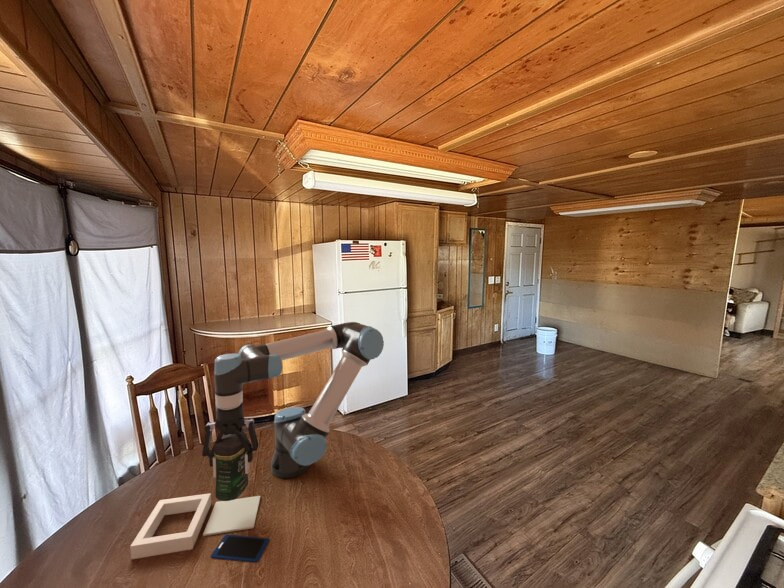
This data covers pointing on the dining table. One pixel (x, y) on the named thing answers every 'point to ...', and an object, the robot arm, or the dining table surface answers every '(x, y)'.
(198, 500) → the cream open rectangular frame
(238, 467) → the coffee jar
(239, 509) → the beige board
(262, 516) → the dining table surface
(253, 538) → the cell phone
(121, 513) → the dining table surface
